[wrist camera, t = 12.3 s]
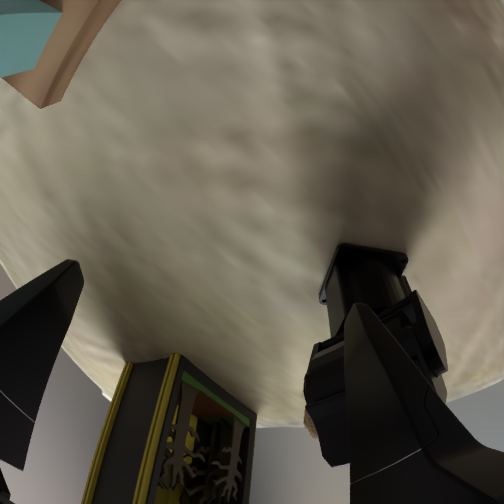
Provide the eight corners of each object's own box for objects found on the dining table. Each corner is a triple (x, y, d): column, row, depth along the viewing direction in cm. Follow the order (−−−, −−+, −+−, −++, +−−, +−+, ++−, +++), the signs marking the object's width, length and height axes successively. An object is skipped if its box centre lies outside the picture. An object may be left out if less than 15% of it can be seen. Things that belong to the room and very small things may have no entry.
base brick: (121, -1, 13) (102, -5, 11) (60, 101, 17) (40, 108, 15) (50, -34, 9) (31, -36, 7) (3, 57, 14) (-17, 62, 12)
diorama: (258, 415, 44) (242, 580, 20) (206, 420, 48) (183, 566, 24) (179, 352, 34) (127, 587, 10) (124, 362, 38) (69, 551, 14)
